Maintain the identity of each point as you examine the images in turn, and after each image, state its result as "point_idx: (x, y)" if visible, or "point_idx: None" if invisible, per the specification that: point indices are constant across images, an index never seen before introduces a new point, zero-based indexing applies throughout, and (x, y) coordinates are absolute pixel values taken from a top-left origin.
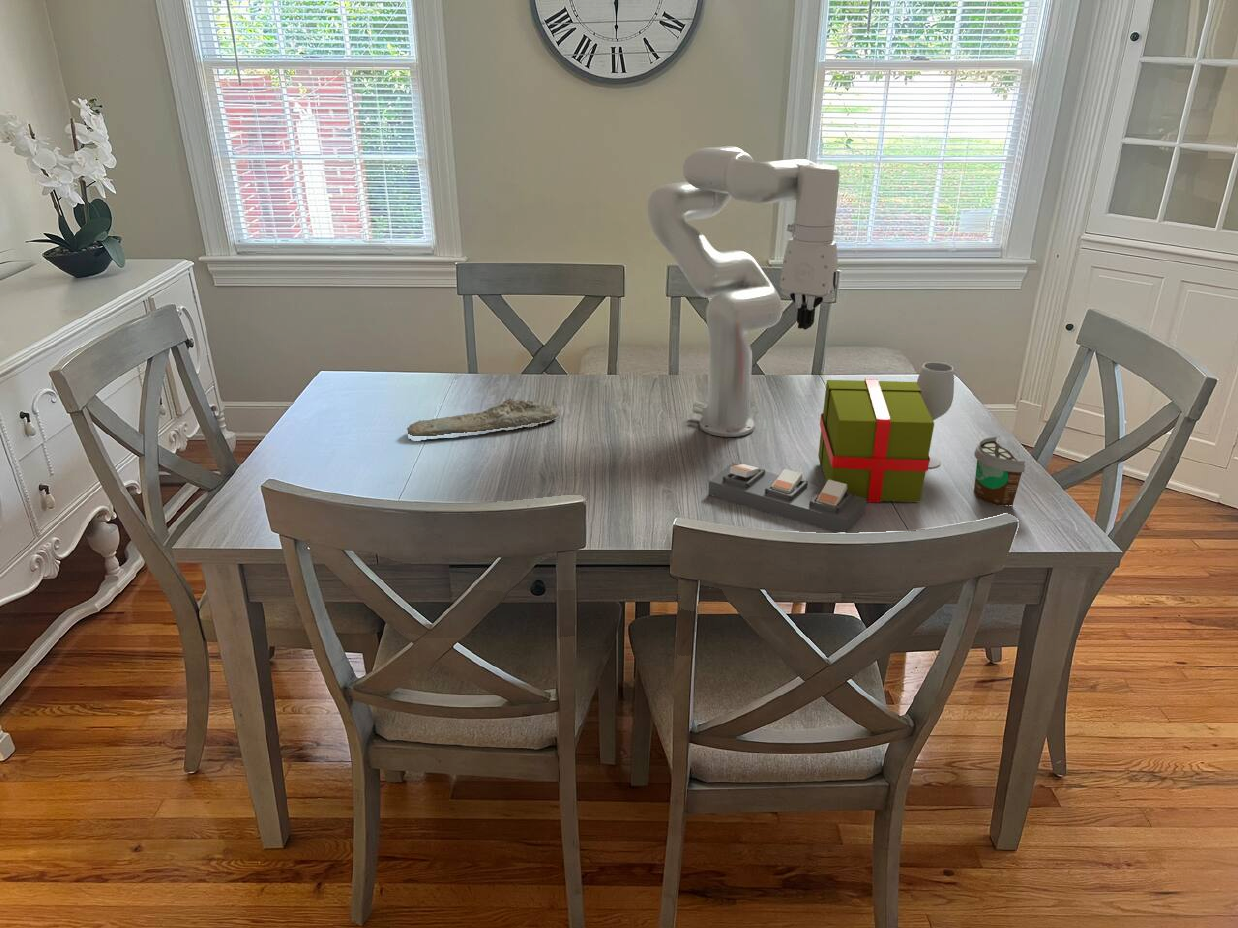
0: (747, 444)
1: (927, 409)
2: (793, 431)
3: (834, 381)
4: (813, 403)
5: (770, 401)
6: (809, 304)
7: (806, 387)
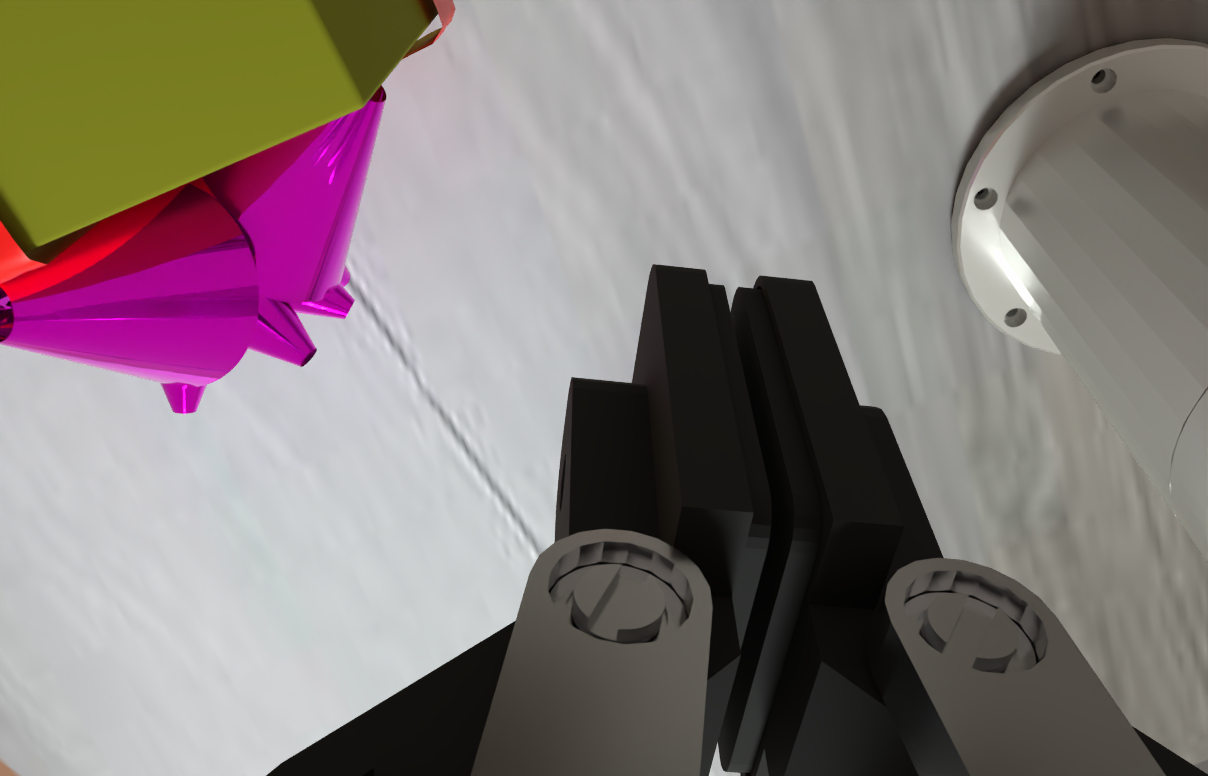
0: (949, 15)
1: None
2: None
3: (277, 95)
4: None
5: None
6: (641, 655)
7: None
